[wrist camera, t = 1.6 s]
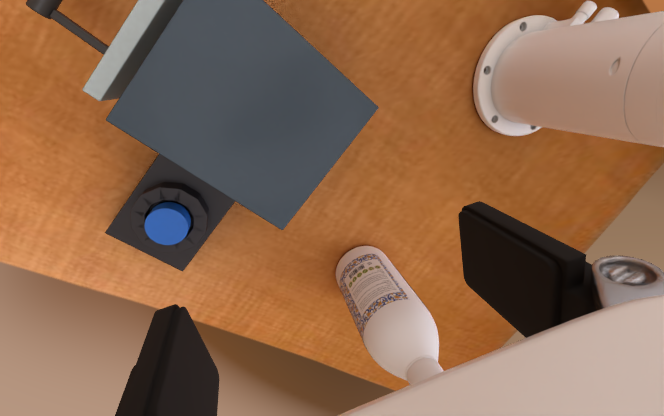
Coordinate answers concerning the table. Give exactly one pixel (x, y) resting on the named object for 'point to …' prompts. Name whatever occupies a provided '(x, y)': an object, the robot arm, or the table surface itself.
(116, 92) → the drawer
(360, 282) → the bath foam
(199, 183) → the panel
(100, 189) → the table surface
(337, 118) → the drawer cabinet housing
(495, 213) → the robot arm
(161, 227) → the button
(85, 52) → the table surface
